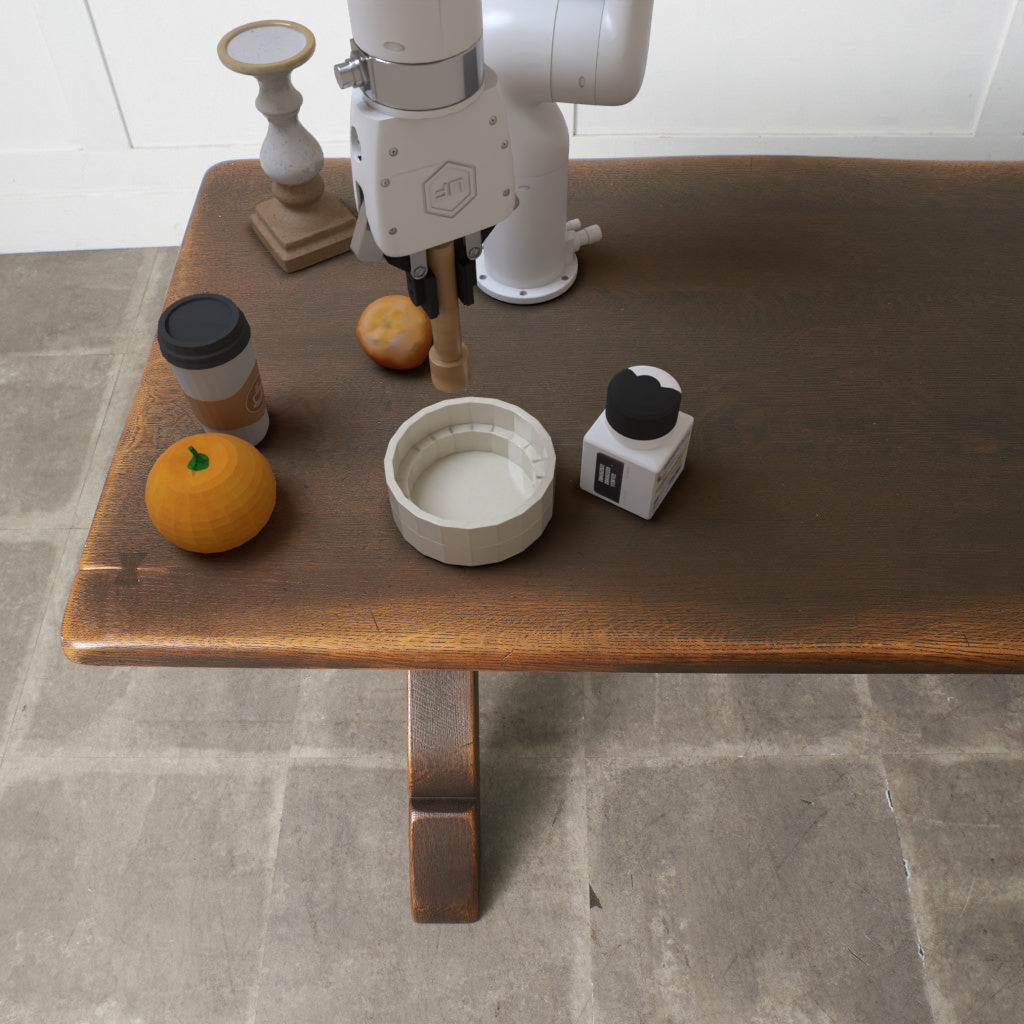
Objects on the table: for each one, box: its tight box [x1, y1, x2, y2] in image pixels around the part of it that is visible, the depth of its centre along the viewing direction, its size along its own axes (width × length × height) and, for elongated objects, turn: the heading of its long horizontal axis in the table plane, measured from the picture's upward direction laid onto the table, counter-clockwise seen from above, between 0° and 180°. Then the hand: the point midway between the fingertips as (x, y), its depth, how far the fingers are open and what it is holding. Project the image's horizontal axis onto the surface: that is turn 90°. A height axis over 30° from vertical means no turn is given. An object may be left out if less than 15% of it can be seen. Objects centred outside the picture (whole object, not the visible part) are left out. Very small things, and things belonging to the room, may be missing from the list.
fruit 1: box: [144, 432, 277, 554], centre depth 86 cm, size 12×12×10 cm
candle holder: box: [216, 19, 358, 274], centre depth 106 cm, size 11×11×24 cm
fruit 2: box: [355, 294, 433, 371], centre depth 101 cm, size 8×8×8 cm
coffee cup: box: [156, 292, 270, 447], centre depth 90 cm, size 8×8×15 cm
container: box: [579, 365, 695, 520], centre depth 87 cm, size 8×8×13 cm
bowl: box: [383, 396, 557, 567], centre depth 88 cm, size 16×16×6 cm
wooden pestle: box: [426, 240, 472, 394], centre depth 71 cm, size 3×3×14 cm
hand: (444, 299), depth 70 cm, fingers closed on wooden pestle, 2 cm apart
